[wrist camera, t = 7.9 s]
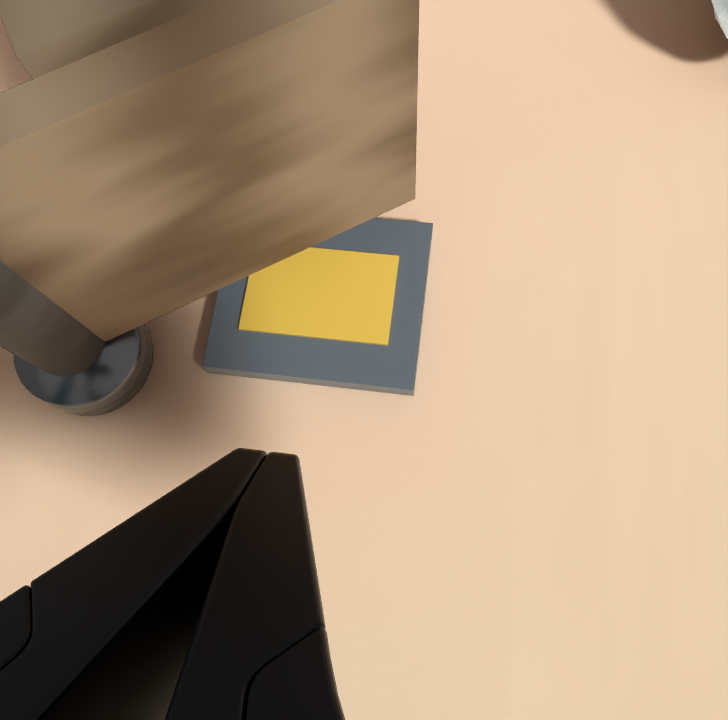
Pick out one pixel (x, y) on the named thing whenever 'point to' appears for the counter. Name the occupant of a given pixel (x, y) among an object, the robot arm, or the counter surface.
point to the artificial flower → (721, 14)
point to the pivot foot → (96, 377)
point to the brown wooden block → (188, 152)
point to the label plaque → (330, 312)
